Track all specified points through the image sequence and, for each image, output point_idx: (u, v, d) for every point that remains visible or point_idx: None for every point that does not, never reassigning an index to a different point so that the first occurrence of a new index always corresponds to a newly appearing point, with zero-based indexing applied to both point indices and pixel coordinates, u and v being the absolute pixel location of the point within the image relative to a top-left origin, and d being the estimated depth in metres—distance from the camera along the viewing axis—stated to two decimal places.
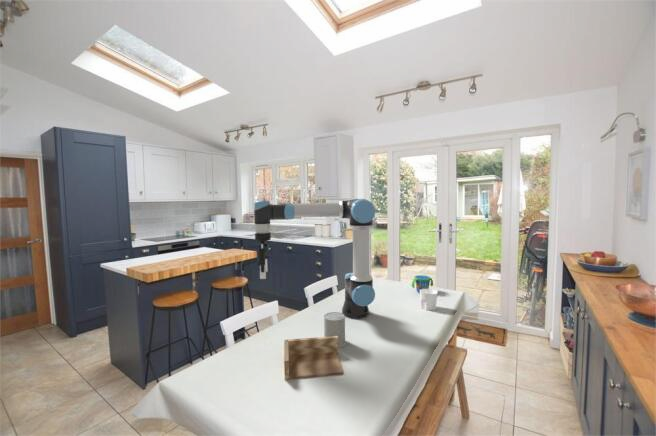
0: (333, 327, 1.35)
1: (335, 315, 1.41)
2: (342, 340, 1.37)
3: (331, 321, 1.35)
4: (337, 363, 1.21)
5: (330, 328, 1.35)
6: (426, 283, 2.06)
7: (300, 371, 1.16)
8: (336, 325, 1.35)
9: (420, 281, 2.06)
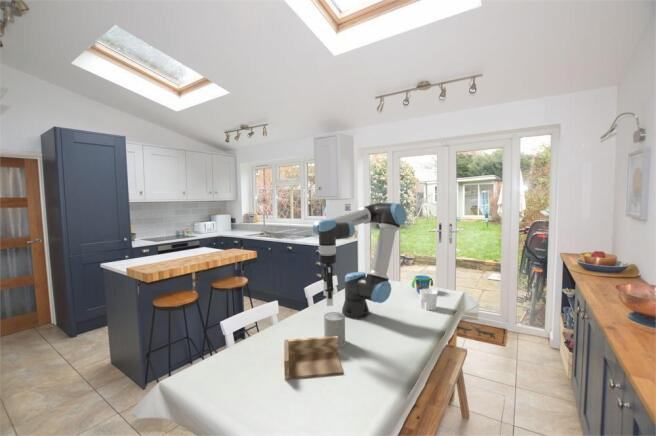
0: (333, 327, 1.35)
1: (335, 315, 1.41)
2: (342, 340, 1.37)
3: (331, 321, 1.35)
4: (337, 363, 1.21)
5: (330, 328, 1.35)
6: (426, 283, 2.06)
7: (300, 371, 1.16)
8: (336, 325, 1.35)
9: (420, 281, 2.06)
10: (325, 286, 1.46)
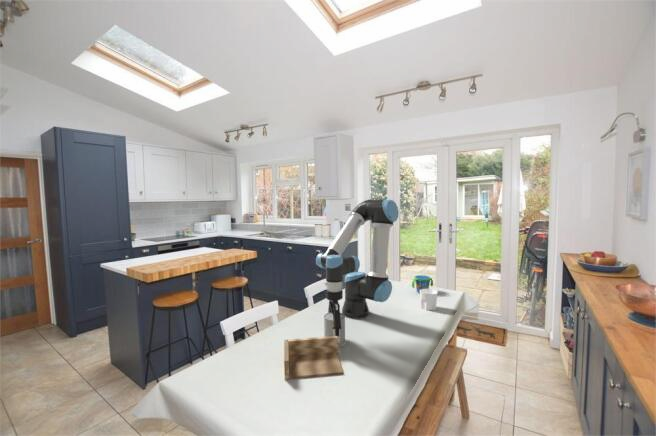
0: None
1: None
2: (342, 340, 1.37)
3: (331, 321, 1.35)
4: (337, 363, 1.21)
5: (330, 328, 1.35)
6: (426, 283, 2.06)
7: (300, 371, 1.16)
8: None
9: (420, 281, 2.06)
10: None
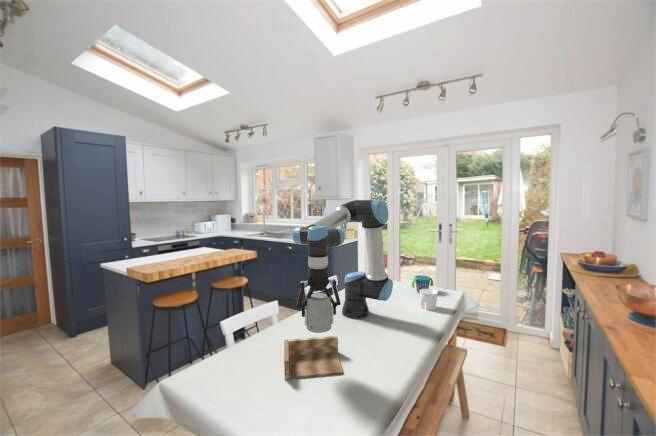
0: None
1: (322, 297, 1.18)
2: (310, 324, 1.16)
3: None
4: (337, 363, 1.21)
5: None
6: (426, 283, 2.06)
7: (300, 371, 1.16)
8: None
9: (420, 281, 2.06)
10: None
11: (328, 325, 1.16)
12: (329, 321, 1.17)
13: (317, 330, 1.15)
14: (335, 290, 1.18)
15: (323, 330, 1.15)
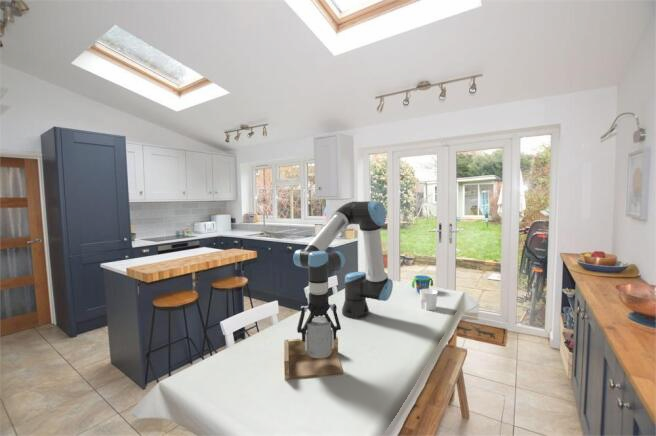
0: None
1: (322, 322, 1.19)
2: (310, 349, 1.16)
3: None
4: (337, 363, 1.21)
5: None
6: (426, 283, 2.06)
7: (300, 371, 1.16)
8: (307, 327, 1.18)
9: (420, 281, 2.06)
10: None
11: (328, 350, 1.17)
12: (330, 346, 1.17)
13: (317, 355, 1.15)
14: (335, 315, 1.19)
15: (323, 355, 1.15)
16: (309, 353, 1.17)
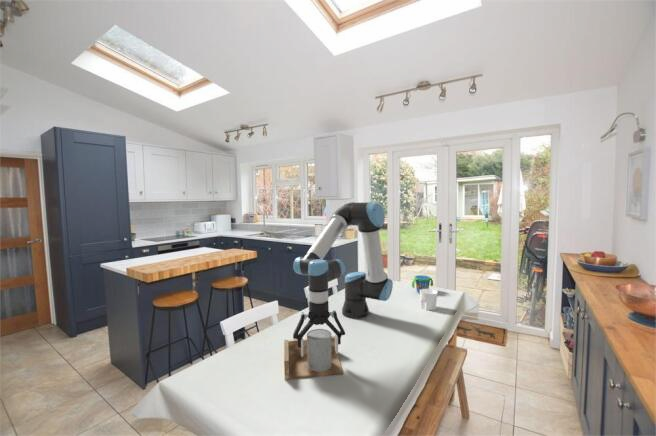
0: None
1: (322, 335, 1.19)
2: (310, 363, 1.17)
3: None
4: (337, 363, 1.21)
5: None
6: (426, 283, 2.06)
7: (300, 371, 1.16)
8: (307, 340, 1.19)
9: (420, 281, 2.06)
10: (335, 340, 1.21)
11: (328, 363, 1.17)
12: (330, 359, 1.18)
13: (317, 369, 1.16)
14: (337, 321, 1.19)
15: (323, 369, 1.16)
16: (309, 366, 1.18)
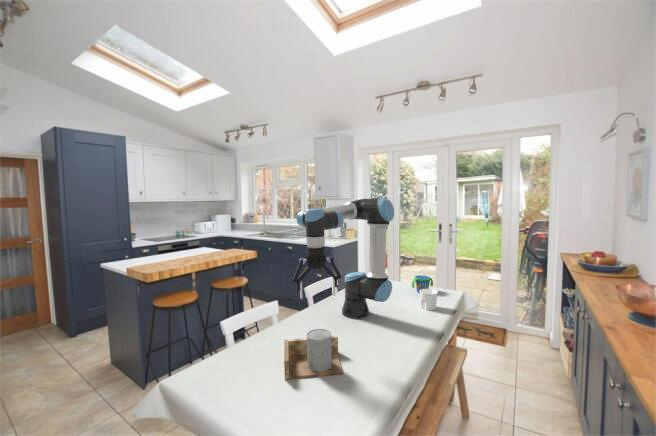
0: None
1: (322, 335, 1.19)
2: (310, 363, 1.17)
3: None
4: (337, 363, 1.21)
5: None
6: (426, 283, 2.06)
7: (300, 371, 1.16)
8: (307, 340, 1.19)
9: (420, 281, 2.06)
10: (332, 284, 1.30)
11: (328, 363, 1.17)
12: (330, 359, 1.18)
13: (317, 369, 1.16)
14: (333, 265, 1.27)
15: (323, 369, 1.16)
16: (309, 366, 1.18)
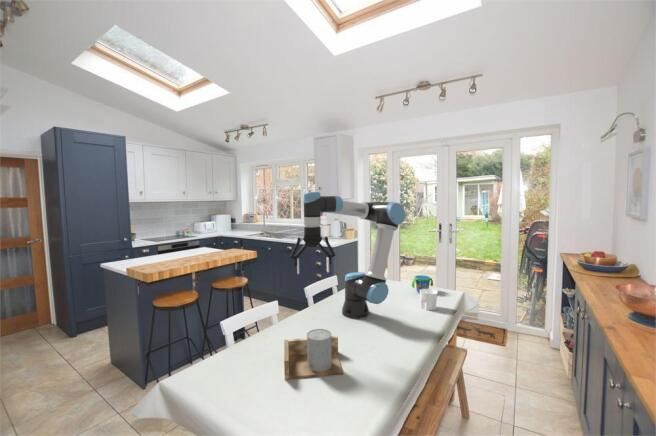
0: None
1: (322, 335, 1.19)
2: (310, 363, 1.17)
3: None
4: (337, 363, 1.21)
5: None
6: (426, 283, 2.06)
7: (300, 371, 1.16)
8: (307, 340, 1.19)
9: (420, 281, 2.06)
10: None
11: (328, 363, 1.17)
12: (330, 359, 1.18)
13: (317, 369, 1.16)
14: (328, 244, 1.39)
15: (323, 369, 1.16)
16: (309, 366, 1.18)
